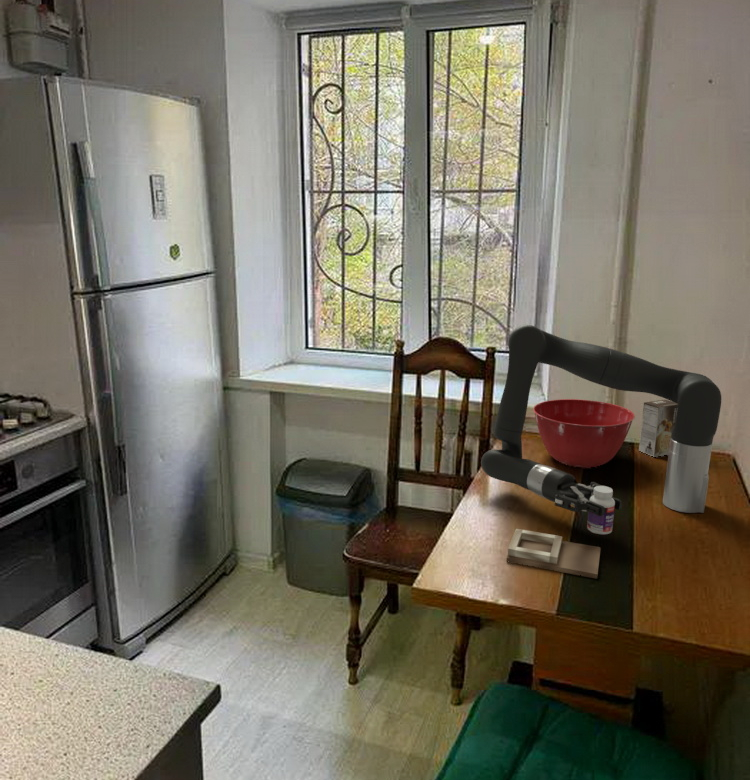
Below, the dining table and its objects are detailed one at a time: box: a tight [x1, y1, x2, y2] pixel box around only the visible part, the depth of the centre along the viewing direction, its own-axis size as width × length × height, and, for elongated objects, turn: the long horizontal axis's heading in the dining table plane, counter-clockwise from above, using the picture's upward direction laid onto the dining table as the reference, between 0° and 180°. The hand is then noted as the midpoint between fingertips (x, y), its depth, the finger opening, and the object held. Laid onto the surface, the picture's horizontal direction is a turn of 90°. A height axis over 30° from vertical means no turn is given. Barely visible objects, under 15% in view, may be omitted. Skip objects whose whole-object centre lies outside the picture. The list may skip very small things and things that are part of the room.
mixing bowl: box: [532, 398, 636, 469], centre depth 195 cm, size 28×28×16 cm
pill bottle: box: [586, 485, 616, 535], centre depth 146 cm, size 5×5×10 cm
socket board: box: [506, 528, 602, 580], centre depth 140 cm, size 18×12×2 cm, turn 69°
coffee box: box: [638, 399, 678, 458], centre depth 202 cm, size 9×6×16 cm
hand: (611, 508), depth 144 cm, fingers closed on pill bottle, 5 cm apart
